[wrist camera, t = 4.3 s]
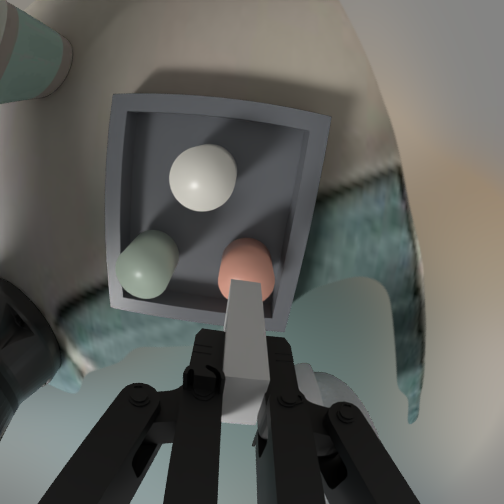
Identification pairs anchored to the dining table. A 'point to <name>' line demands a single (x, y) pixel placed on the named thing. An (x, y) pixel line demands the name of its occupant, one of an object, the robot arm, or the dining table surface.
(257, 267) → the button coral
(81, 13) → the dining table surface
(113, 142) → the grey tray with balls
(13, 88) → the coffee cup
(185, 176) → the button ivory
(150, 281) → the button sage
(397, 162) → the dining table surface
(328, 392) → the mug
